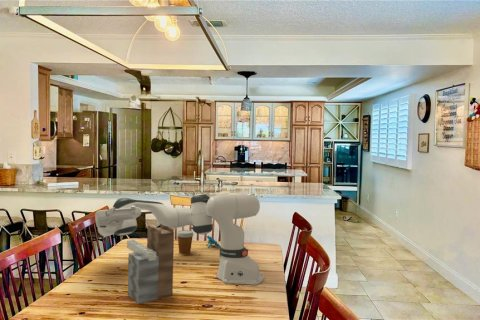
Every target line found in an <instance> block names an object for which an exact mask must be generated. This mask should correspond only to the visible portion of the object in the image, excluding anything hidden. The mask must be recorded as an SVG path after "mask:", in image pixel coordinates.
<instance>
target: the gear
mask: <svg viewBox="0 0 480 320" xmlns="http://www.w3.org/2000/svg"><path fill="white" fill-rule="evenodd" d="M206 238H207V244H205V246H206V247H207V248H208V249H209V248H211V246H212V245H215V247H217V248H220V246H221V244H220V243H218V241H217V240H215V238H213V237H212V236H209V235H207V236H206Z"/></svg>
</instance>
